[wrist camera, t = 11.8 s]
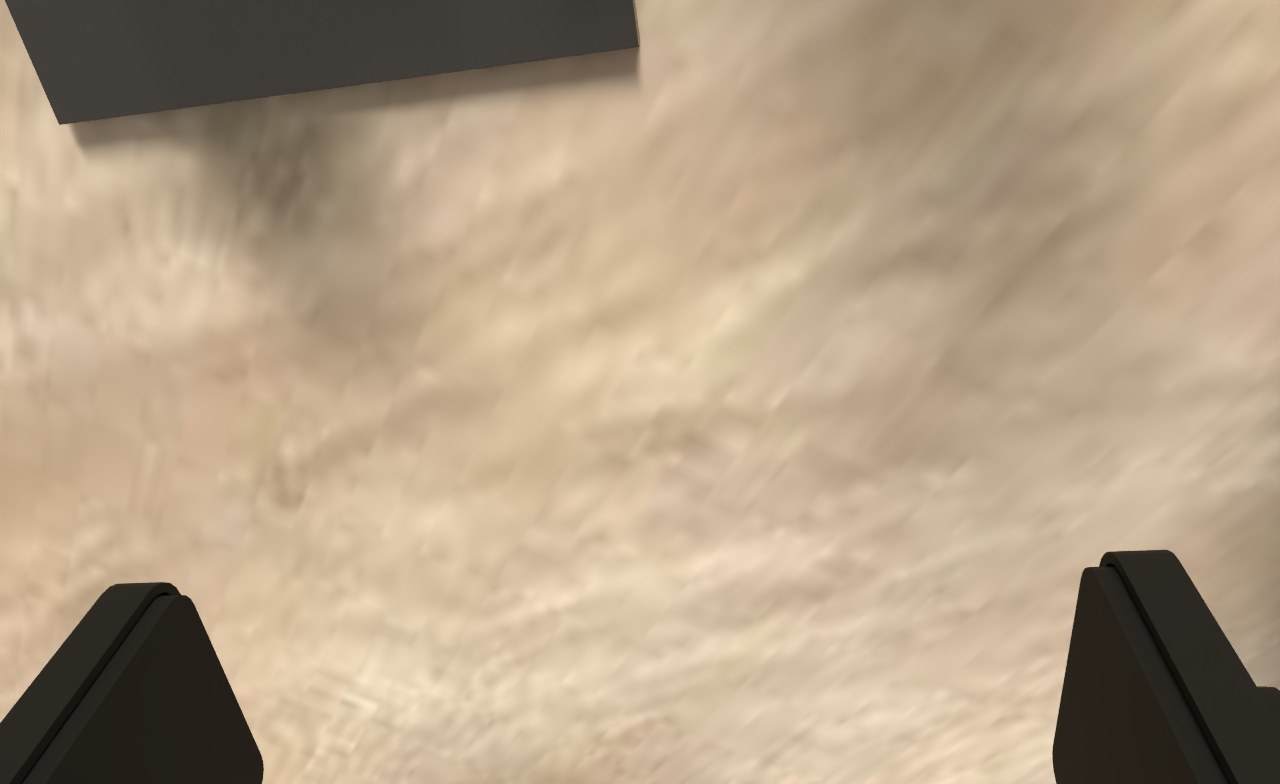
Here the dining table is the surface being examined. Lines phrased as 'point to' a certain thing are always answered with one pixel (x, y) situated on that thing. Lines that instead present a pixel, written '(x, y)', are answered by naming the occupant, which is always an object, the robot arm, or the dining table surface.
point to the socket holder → (288, 45)
